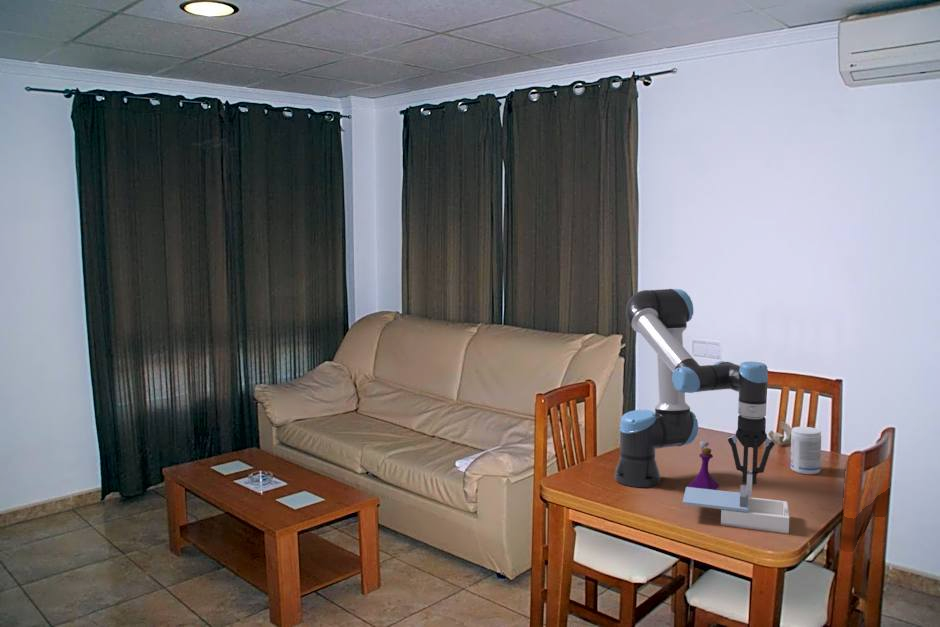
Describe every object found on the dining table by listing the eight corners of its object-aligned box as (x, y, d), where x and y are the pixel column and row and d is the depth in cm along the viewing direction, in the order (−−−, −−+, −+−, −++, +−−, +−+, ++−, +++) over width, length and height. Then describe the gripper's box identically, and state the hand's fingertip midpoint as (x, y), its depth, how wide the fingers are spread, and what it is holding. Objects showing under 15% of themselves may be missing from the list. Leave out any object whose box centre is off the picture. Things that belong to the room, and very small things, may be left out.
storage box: (720, 524, 208) (721, 509, 208) (722, 508, 220) (722, 494, 220) (788, 533, 202) (789, 518, 201) (786, 516, 214) (786, 501, 213)
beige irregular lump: (766, 442, 281) (769, 418, 284) (766, 446, 286) (770, 422, 289) (790, 446, 277) (793, 421, 280) (790, 450, 282) (793, 426, 286)
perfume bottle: (696, 489, 236) (697, 436, 234) (719, 494, 231) (720, 440, 229) (687, 496, 230) (688, 442, 228) (710, 502, 225) (711, 446, 223)
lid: (682, 504, 211) (682, 491, 211) (686, 489, 223) (686, 477, 223) (748, 512, 205) (748, 499, 204) (748, 496, 217) (748, 484, 216)
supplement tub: (825, 471, 251) (827, 430, 249) (810, 477, 246) (811, 435, 244) (799, 464, 259) (801, 424, 257) (784, 469, 254) (785, 429, 252)
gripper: (727, 417, 207) (724, 495, 210) (776, 421, 202) (773, 501, 205) (728, 410, 213) (725, 487, 217) (776, 414, 209) (772, 492, 212)
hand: (748, 494), depth 211 cm, fingers closed
